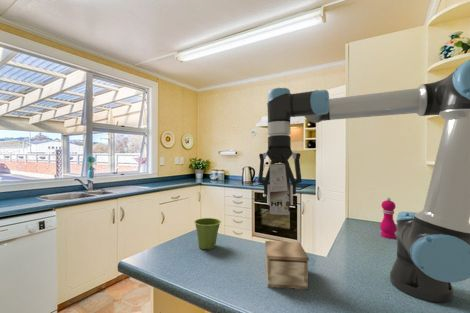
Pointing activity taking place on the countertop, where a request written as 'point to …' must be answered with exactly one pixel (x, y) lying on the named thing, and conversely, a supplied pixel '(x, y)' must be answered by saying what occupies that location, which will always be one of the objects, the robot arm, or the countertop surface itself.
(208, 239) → the plant pot
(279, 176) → the coffee box
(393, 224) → the pepper mill
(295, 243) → the lid
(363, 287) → the countertop surface
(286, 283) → the box
